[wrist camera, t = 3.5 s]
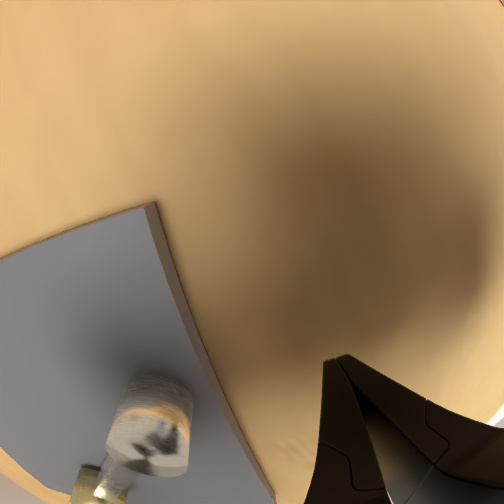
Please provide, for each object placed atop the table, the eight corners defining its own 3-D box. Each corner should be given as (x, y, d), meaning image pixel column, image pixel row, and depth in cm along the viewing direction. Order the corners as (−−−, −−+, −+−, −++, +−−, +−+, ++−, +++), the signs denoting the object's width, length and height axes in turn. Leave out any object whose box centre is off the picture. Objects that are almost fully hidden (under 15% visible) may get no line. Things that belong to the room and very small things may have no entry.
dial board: (275, 494, 15) (277, 507, 14) (49, 479, 15) (46, 488, 14) (154, 201, 8) (141, 208, 7) (-83, 302, 8) (-92, 309, 7)
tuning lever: (122, 495, 12) (117, 524, 10) (77, 476, 12) (68, 504, 9) (217, 398, 9) (217, 462, 6) (123, 356, 8) (97, 417, 6)
